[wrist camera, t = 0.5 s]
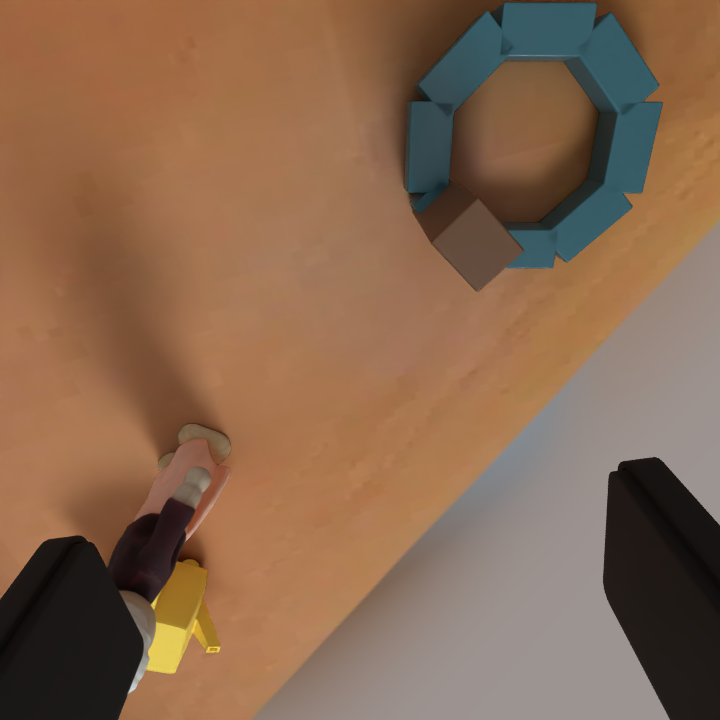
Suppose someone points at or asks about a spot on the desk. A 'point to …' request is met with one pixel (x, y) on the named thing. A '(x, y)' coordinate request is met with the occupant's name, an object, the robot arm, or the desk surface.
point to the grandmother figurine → (167, 524)
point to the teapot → (181, 617)
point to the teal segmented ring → (610, 151)
